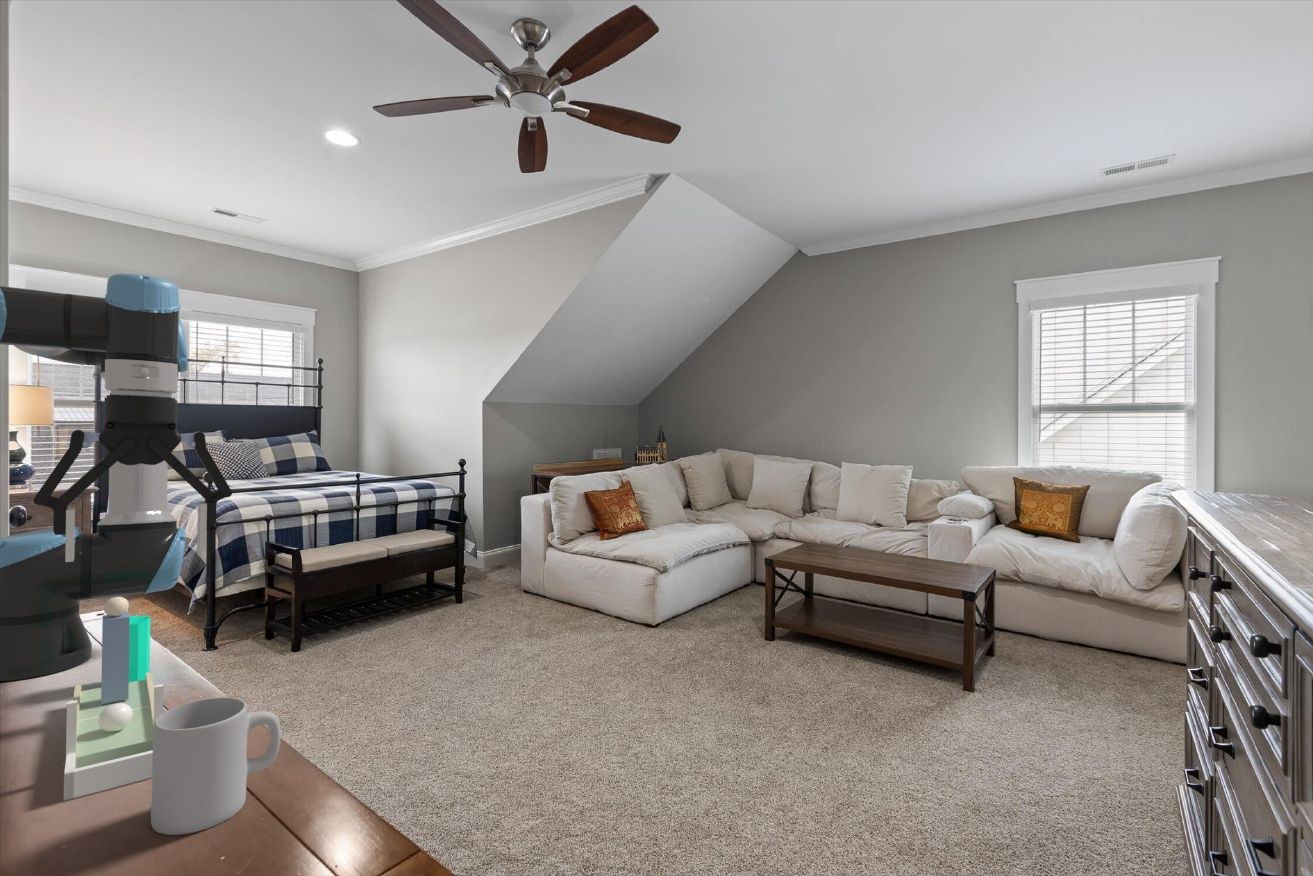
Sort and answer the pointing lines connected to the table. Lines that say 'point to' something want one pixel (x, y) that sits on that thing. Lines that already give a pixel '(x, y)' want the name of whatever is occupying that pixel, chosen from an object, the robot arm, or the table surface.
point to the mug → (204, 763)
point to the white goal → (104, 772)
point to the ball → (115, 717)
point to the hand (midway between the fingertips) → (139, 554)
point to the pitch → (122, 743)
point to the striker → (115, 651)
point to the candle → (139, 648)
